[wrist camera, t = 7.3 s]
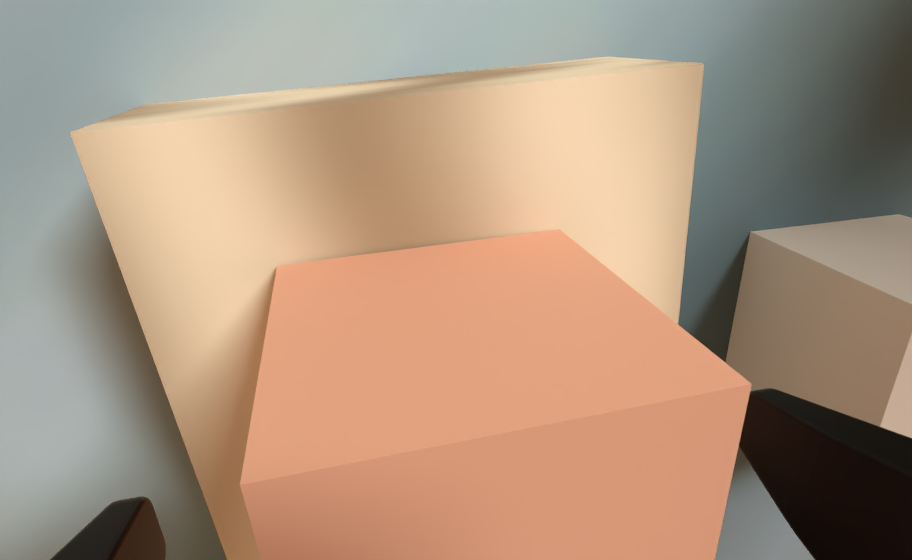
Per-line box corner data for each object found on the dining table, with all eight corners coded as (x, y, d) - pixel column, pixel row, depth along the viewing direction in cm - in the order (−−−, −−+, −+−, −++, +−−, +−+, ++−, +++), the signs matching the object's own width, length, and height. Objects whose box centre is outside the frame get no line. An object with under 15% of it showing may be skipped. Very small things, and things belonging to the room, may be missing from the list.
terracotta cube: (559, 229, 10) (752, 383, 6) (552, 443, 12) (689, 680, 8) (277, 265, 9) (240, 486, 5) (322, 490, 11) (326, 788, 7)
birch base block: (599, 56, 13) (704, 64, 9) (590, 400, 17) (660, 495, 14) (150, 102, 11) (69, 132, 8) (260, 469, 16) (241, 598, 12)
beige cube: (896, 213, 16) (1110, 278, 12) (853, 357, 18) (1023, 458, 14) (747, 230, 16) (920, 307, 11) (720, 379, 18) (855, 496, 13)
